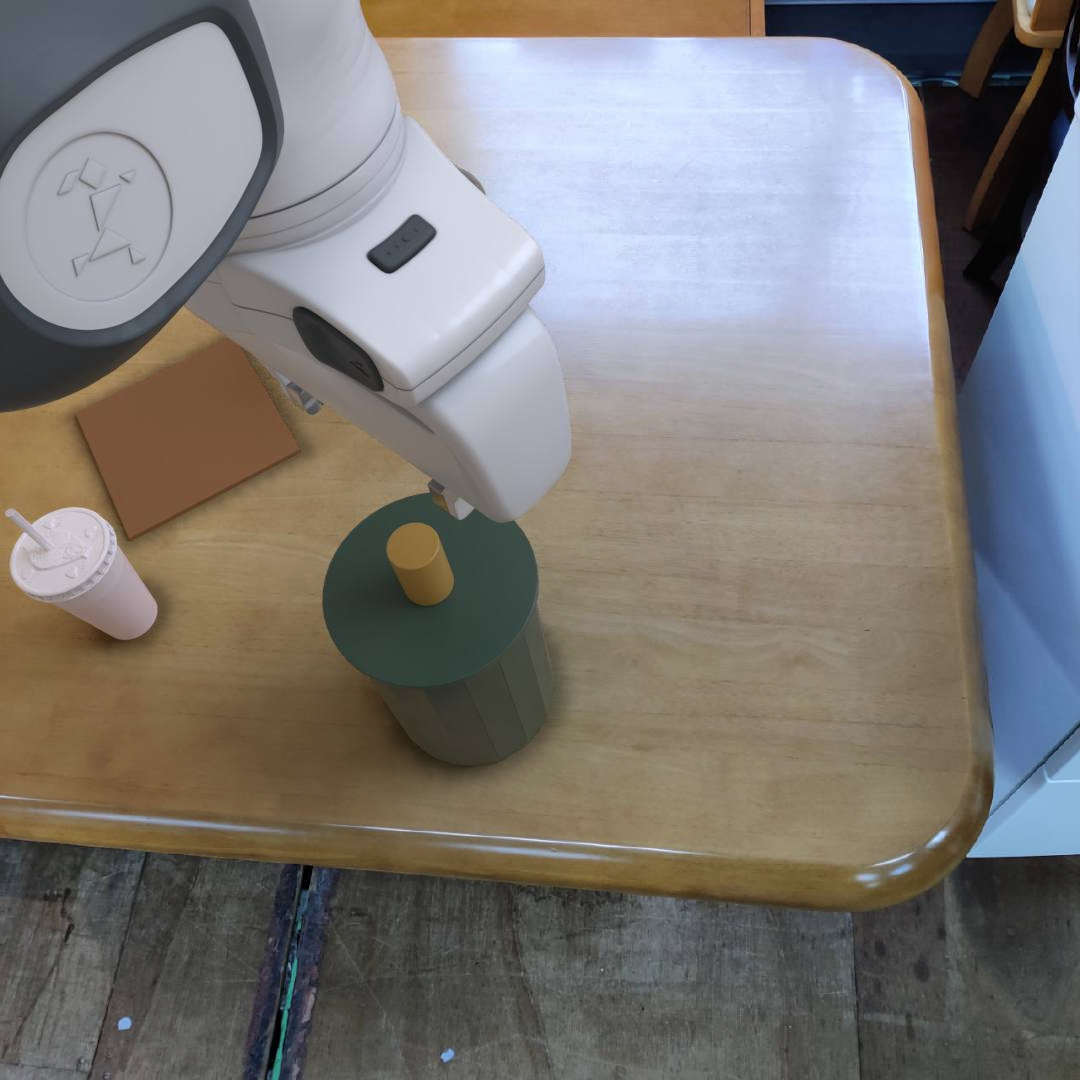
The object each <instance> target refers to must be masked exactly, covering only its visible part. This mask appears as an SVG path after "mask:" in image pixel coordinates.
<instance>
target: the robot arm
mask: <svg viewBox="0 0 1080 1080" xmlns="http://www.w3.org/2000/svg"><path fill="white" fill-rule="evenodd" d="M363 13H364V12H363V10H362V6H361V0H0V414H4V413H12V412H18V411H24V410H29V409H32V408H37V407H41V406H45V405H47V404H50V403H53V402H56V401H60V400H61V399H64V398H66V397H68V396H69V397H70V396H71V395H74V394H75V393H78V392H81V391H82V390H84V389H86V388H88V387H90V386H92V385H93V384H95V383H97V382H99V381H100V380H102V379H103V378H105V377H107V376H108V375H110V374H112V373H113V372H114V371H116V370H118V368H120V367H121V366H123V365H124V364H125V363H127V362H128V361H129V360H131V358H133V357H134V356H135V355H136V354H138V353H139V352H140V351H141V350H142V349H143V348H145V346H146V345H147V344H149V343H150V342H151V341H152V340H153V339H154V338H155V337H156V336H157V335H158V334H159V333H160V332H161V331H162V330H163V329H164V328H165V326H167V324H168V323H169V322H170V321H171V320H172V319H173V318H174V317H175V315H176V314H178V312H179V311H181V309H182V308H183V307H184V309H186V310H187V311H188V312H190V314H193V315H194V316H196V317H197V318H198V319H200V320H202V321H203V322H204V323H205V324H207V325H208V326H210V327H212V328H213V329H214V330H216V331H218V332H219V333H220V334H222V335H223V336H225V337H226V338H227V339H228V338H229V339H231V340H232V341H233V342H235V343H236V344H238V345H239V346H241V348H242V349H244V350H245V351H246V352H248V353H249V354H251V355H252V356H254V357H255V358H256V360H257V361H258V362H259V363H260V365H262V366H263V367H264V368H265V369H266V371H268V373H269V374H270V375H271V376H272V377H273V378H274V379H275V380H276V381H277V382H278V385H279V386H280V389H281V390H282V393H283V395H284V396H285V398H286V400H287V401H289V402H290V403H292V404H293V405H294V406H295V407H297V408H298V409H300V410H301V411H303V412H304V413H306V414H308V415H311V416H314V415H316V414H318V413H319V412H320V411H321V410H322V407H323V405H324V406H326V407H327V408H329V409H330V410H332V411H333V412H335V413H336V414H338V415H339V416H341V417H342V418H343V419H345V420H347V422H349V423H351V424H352V425H353V426H355V427H356V428H357V429H359V430H361V431H362V432H364V433H365V434H366V435H368V436H369V437H371V438H372V439H374V440H375V441H377V442H378V443H380V444H381V445H382V446H384V447H386V448H387V449H388V450H390V451H391V452H392V453H394V454H395V455H397V456H399V457H400V458H401V459H403V460H405V461H406V462H407V463H409V464H410V465H412V466H413V467H414V468H415V469H417V470H419V471H420V472H421V473H423V474H424V475H426V476H428V477H429V478H431V479H430V480H429V482H427V488H428V490H429V493H431V494H432V496H433V498H432V499H433V501H434V502H435V503H436V504H437V505H439V506H440V507H442V508H443V509H444V510H446V511H447V512H448V513H450V514H451V515H452V516H454V517H455V518H457V519H458V520H462V519H464V518H466V517H467V516H468V515H469V514H470V513H471V511H472V510H473V509H474V508H475V509H477V510H478V511H479V512H481V513H482V514H483V515H485V516H486V517H488V518H489V519H491V520H493V521H495V522H498V523H506V522H510V521H513V520H514V521H516V520H518V519H521V517H523V516H524V515H525V514H526V513H528V512H529V511H530V510H531V509H532V508H533V507H534V506H535V505H536V504H537V503H538V502H539V501H540V500H541V499H543V498H544V496H545V495H546V494H547V493H548V492H549V491H550V489H551V488H552V487H553V486H554V485H555V484H556V483H557V482H558V480H559V479H560V477H562V475H563V474H564V471H565V470H566V469H567V467H568V466H569V463H570V461H571V457H572V435H571V433H572V432H571V423H570V422H571V421H570V415H569V407H568V406H569V405H568V400H567V394H566V388H565V383H564V377H563V372H562V368H561V367H562V366H561V363H560V359H559V356H558V352H557V348H556V346H555V343H554V341H553V338H552V336H551V334H550V332H549V330H548V328H547V327H546V325H545V323H544V322H543V320H542V319H541V317H540V316H539V315H538V313H537V312H536V310H535V309H534V308H533V307H532V306H531V305H530V302H531V301H532V300H533V299H534V298H535V296H537V294H538V293H539V292H540V290H541V289H542V288H543V287H544V285H545V282H546V264H545V263H546V262H545V258H544V254H543V251H542V249H541V246H540V245H539V243H538V241H537V240H536V239H535V237H534V236H533V235H532V234H531V233H530V232H529V231H528V230H527V229H526V228H525V227H524V226H522V224H520V223H519V222H518V221H517V220H516V219H514V218H513V217H512V216H511V215H510V214H509V213H507V212H506V211H505V210H503V209H502V208H501V207H500V206H499V205H498V204H497V203H496V202H494V201H493V200H492V199H491V198H490V197H488V196H487V194H486V195H485V194H484V193H482V192H481V191H480V190H479V189H478V188H477V187H476V186H475V185H474V184H473V183H471V182H470V181H469V180H468V179H467V178H466V177H465V176H464V175H463V174H462V173H461V172H460V171H459V170H458V169H457V168H456V167H455V166H454V165H453V164H454V163H452V161H451V160H450V159H449V158H448V157H447V156H446V155H445V154H444V152H442V151H441V148H439V147H438V145H437V144H436V143H435V142H434V140H433V139H432V138H431V137H430V135H429V134H428V133H427V131H426V130H425V129H424V128H423V127H422V126H421V125H420V124H419V123H418V122H417V121H416V120H415V119H413V118H412V117H411V116H409V115H408V114H403V112H402V108H401V103H400V98H399V95H398V91H397V87H396V83H395V80H394V76H393V72H392V70H391V68H390V65H389V61H388V60H387V58H386V55H385V54H384V52H383V49H382V48H381V46H380V45H379V43H378V41H377V40H376V38H375V37H374V35H373V34H372V32H371V30H370V28H369V25H368V23H367V20H366V19H365V16H364V14H363Z"/></svg>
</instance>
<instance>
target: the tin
mask: <svg viewBox="0 0 1080 1080" xmlns="http://www.w3.org/2000/svg"><path fill="white" fill-rule="evenodd" d="M539 609H540V608H539V605H538V603H537V604H536V609H535V611H534V614H533V617H532V620H531V622H530V624H529V626H528V628H527V630H526V632H525V633H524V635H523V636H522V638H521V639H520V641H519V642H518V644H517V645H516V646H515V647H514V648H513V649H512V651H511V652H510V653H509V654H508V655H507V656H506V657H505V658H504V659H502V660H501V661H500V662H499V663H498V664H497V665H495V666H494V667H492V668H491V669H490V670H488V671H487V672H485V673H484V674H482V675H480V676H478V677H476V678H474V679H472V680H470V681H467V682H465V683H462V684H459V685H456V686H452V687H448V688H444V689H438V690H429V691H411V690H404V689H397V688H394V687H390V686H386V685H383V684H381V683H379V682H376V681H374V680H372V679H370V678H368V679H369V681H370V682H371V684H372V685H373V687H374V688H375V690H376V691H377V693H378V695H380V697H381V698H382V699H383V701H384V702H385V704H386V706H387V707H388V708H389V710H390V711H391V713H392V714H393V716H394V717H395V719H396V720H397V722H398V723H399V725H400V726H401V727H402V729H403V730H404V731H405V733H406V735H407V736H408V737H409V739H410V741H412V742H413V743H414V744H416V745H417V746H418V747H419V748H420V749H421V750H423V751H424V753H426V754H428V755H429V756H431V757H432V758H434V759H435V760H439V761H441V762H443V763H446V764H450V765H453V766H460V767H481V766H486V765H487V766H488V765H492V764H496V763H498V762H501V761H503V760H506V759H507V758H510V757H511V756H513V755H515V754H517V753H518V752H519V751H521V750H522V749H524V748H525V747H526V746H527V745H528V744H529V743H530V742H531V741H532V740H533V739H534V738H535V737H536V735H538V733H539V732H540V731H541V729H542V727H543V726H544V724H545V722H546V720H547V719H548V716H549V714H550V710H551V707H552V704H553V699H554V691H555V680H554V674H553V669H552V662H551V658H550V652H549V649H548V644H547V641H546V636H545V632H544V626H543V623H542V618H541V614H540V610H539Z"/></svg>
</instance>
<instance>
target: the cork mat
mask: <svg viewBox="0 0 1080 1080" xmlns="http://www.w3.org/2000/svg"><path fill="white" fill-rule="evenodd" d="M75 416H76V418H77V421H78V423H79V426H80V428H81V430H82V433H83V436H84V438H85V440H86V442H87V445H88V446H89V449H90V451H91V454H92V456H93V458H94V459H93V460H94V461H95V464H96V466H97V468H98V470H99V473H100V474H101V477H102V481H103V482H104V484H105V487H106V489H107V491H108V494H109V496H110V498H111V500H112V503H113V506H114V508H115V510H116V512H117V515H118V517H119V519H120V521H121V524H122V526H123V529H124V531H125V533H126V536H127V538H128V539H129V541H130V542H132V541H134V540H137V539H138V538H140V537H142V536H144V535H147V534H148V533H150V532H151V531H153V530H155V529H157V528H160V527H162V526H163V525H165V524H167V523H169V522H170V521H172V520H175V519H177V518H178V517H181V516H183V515H184V514H186V513H188V512H190V511H192V510H193V509H195V508H198V507H199V506H201V505H204V504H205V503H207V502H209V501H211V500H213V499H214V498H217V497H219V496H221V495H222V494H224V493H226V492H228V491H230V490H232V489H234V488H236V487H238V486H240V485H241V484H243V483H246V482H248V481H249V480H251V479H253V478H255V477H257V476H259V475H261V474H262V473H265V472H266V471H268V470H270V469H272V468H274V467H276V466H277V465H279V464H282V463H284V462H286V461H288V460H289V459H291V458H293V457H295V456H297V455H299V454H301V453H302V449H301V448H300V446H299V444H298V443H297V441H296V439H295V438H294V436H293V434H292V432H291V430H290V429H289V427H288V426H287V424H286V421H284V419H283V416H282V415H281V413H280V412H279V410H278V408H277V406H276V405H275V404H274V401H273V400H272V398H271V396H270V394H269V393H268V391H267V390H266V387H265V385H264V384H263V382H262V381H261V379H260V378H259V375H258V374H257V372H256V370H255V369H254V367H253V365H252V364H251V362H250V360H249V358H248V357H247V355H246V353H245V352H244V350H243V348H242V347H241V346H239V345H238V344H236V343H235V342H233V341H232V340H231V339H229V338H228V337H227V339H224V340H222V341H220V342H218V343H215V344H214V345H211V346H210V347H208V348H206V349H204V350H202V351H200V352H198V353H195V354H193V355H191V356H189V357H187V358H185V359H184V360H181V361H179V362H177V363H175V364H173V365H171V366H169V367H167V368H165V369H163V370H161V371H159V372H157V373H155V374H153V375H151V376H148V377H146V378H145V379H143V380H141V381H139V382H136V383H135V384H133V385H131V386H129V387H126V388H125V389H123V390H121V391H118V392H117V393H114V394H112V395H110V396H108V397H106V398H105V399H102V400H100V401H98V402H96V403H94V404H92V405H90V406H88V407H86V408H84V409H82V410H80V411H78V412H76V413H75Z"/></svg>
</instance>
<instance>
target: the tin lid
mask: <svg viewBox="0 0 1080 1080" xmlns="http://www.w3.org/2000/svg"><path fill="white" fill-rule="evenodd" d="M432 498H433V496H432V494H431V493H430V492H423V493H422V492H421V493H418V494H412V495H408V496H406V497H403V498H400V499H397V500H394V501H392V502H389V503H388V504H386V505H383V506H382V507H380V508H378V509H376V510H375V511H373V512H372V513H370V514H369V515H368V516H367V517H365V518H364V519H362V520H361V521H360V522H359V523H358V524H357V525H355V526H354V528H353V529H352V530H351V531H350V532H349V533H348V534H347V535H346V537H344V539H343V540H342V541H341V542H340V544H339V546H338V547H337V549H336V551H335V552H334V554H333V555H332V558H331V560H330V562H329V564H328V567H327V571H326V573H325V577H324V582H323V586H322V600H321V601H322V602H321V604H322V613H323V618H324V622H325V627H326V629H327V631H328V634H329V636H330V639H331V640H332V642H333V644H334V645H335V647H336V649H337V650H338V651H339V653H340V654H341V656H343V658H344V659H345V661H347V663H348V664H349V665H351V666H352V667H353V668H354V669H355V670H357V672H359V673H360V674H362V675H364V676H365V677H367V678H368V679H369V678H370V679H372V680H374V681H376V682H379V683H381V684H383V685H386V686H390V687H394V688H397V689H404V690H411V691H429V690H438V689H444V688H448V687H452V686H456V685H459V684H462V683H465V682H467V681H470V680H472V679H474V678H476V677H478V676H480V675H482V674H484V673H485V672H487V671H488V670H490V669H491V668H492V667H494V666H495V665H497V664H498V663H499V662H500V661H501V660H502V659H504V658H505V657H506V656H507V655H508V654H509V653H510V652H511V651H512V649H513V648H514V647H515V646H516V645H517V644H518V642H519V641H520V639H521V638H522V636H523V635H524V633H525V632H526V630H527V628H528V626H529V624H530V622H531V620H532V617H533V614H534V611H535V609H536V604H537V605H538V599H539V594H540V593H539V591H540V576H539V569H538V568H539V567H538V563H537V559H536V555H535V552H534V549H533V547H532V544H531V542H530V539H529V538H528V537H527V535H526V533H525V532H524V530H523V529H522V528H521V526H520V525H519V524H518V523H517V521H516V520H513V521H510V522H506V523H498V522H495V521H493V520H491V519H489V518H488V517H486V516H485V515H483V514H482V513H481V512H479V511H478V510H477V509H475V508H474V509H473V510H472V511H471V513H470V514H469V515H468V516H467V517H466V518H464V519H462V520H458V519H457V518H455V517H454V516H452V515H451V514H450V513H448V512H447V511H446V510H444V509H443V508H442V507H440V506H439V505H437V504H436V503H435V502H434V501H433V499H432ZM370 679H369V680H370Z"/></svg>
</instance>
